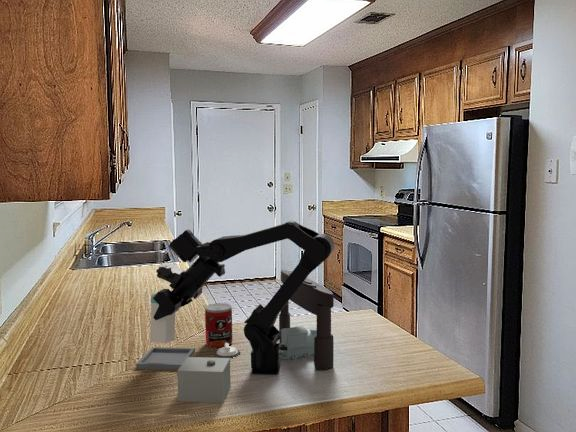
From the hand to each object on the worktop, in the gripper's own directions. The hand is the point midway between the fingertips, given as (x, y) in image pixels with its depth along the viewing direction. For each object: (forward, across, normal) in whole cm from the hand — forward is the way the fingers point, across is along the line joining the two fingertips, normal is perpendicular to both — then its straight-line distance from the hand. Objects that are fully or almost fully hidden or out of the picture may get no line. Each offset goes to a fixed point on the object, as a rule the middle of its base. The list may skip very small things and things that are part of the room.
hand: (159, 316), depth 135 cm
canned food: (+2, -16, +16) cm, 23 cm away
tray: (+8, 0, +10) cm, 12 cm away
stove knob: (-2, -8, +20) cm, 22 cm away
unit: (-4, +17, +22) cm, 28 cm away
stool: (-16, -13, +35) cm, 40 cm away
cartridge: (+4, +1, +5) cm, 7 cm away
